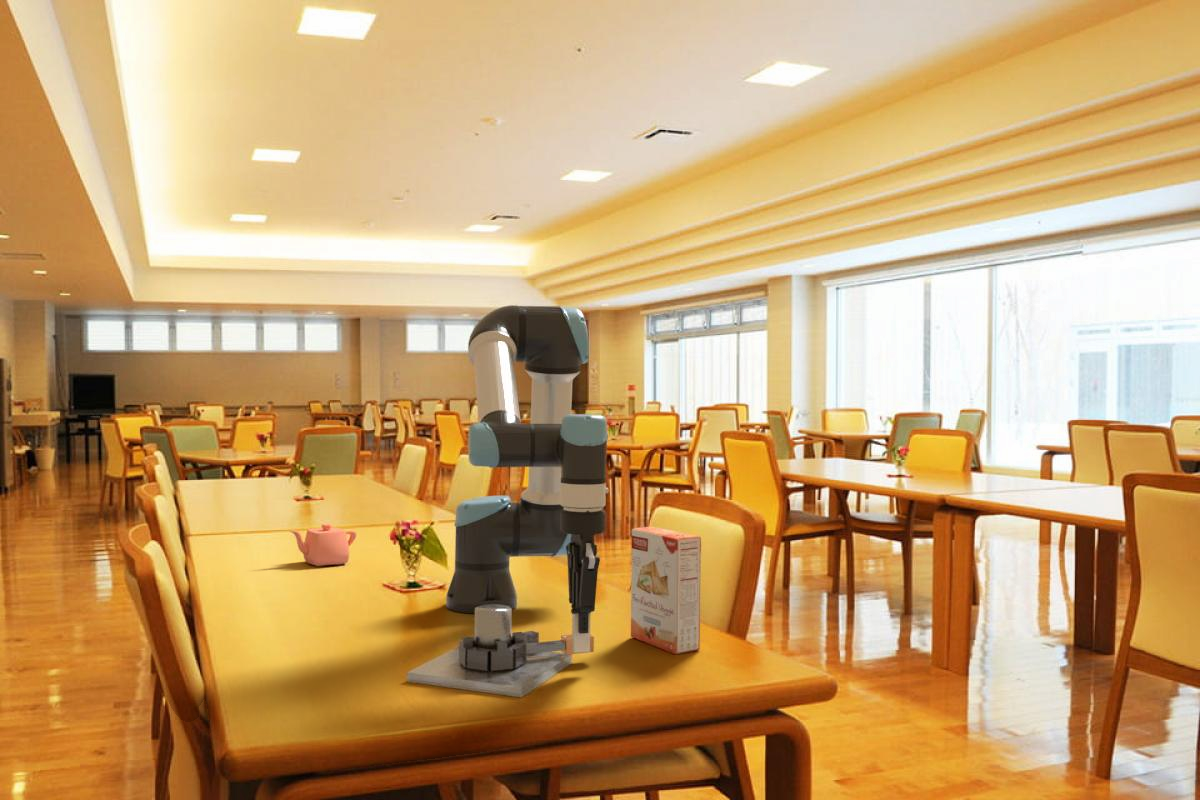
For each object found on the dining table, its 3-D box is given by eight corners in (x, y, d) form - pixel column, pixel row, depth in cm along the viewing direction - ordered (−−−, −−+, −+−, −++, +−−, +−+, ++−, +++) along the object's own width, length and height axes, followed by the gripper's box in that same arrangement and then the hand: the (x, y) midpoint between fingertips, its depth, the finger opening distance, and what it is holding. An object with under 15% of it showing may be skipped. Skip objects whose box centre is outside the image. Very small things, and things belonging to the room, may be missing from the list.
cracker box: (628, 638, 181) (630, 527, 180) (653, 634, 184) (655, 525, 184) (674, 655, 169) (676, 537, 169) (701, 651, 172) (702, 535, 172)
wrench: (470, 673, 151) (470, 646, 151) (453, 655, 160) (454, 630, 160) (602, 659, 160) (602, 633, 160) (579, 643, 169) (579, 619, 169)
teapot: (363, 564, 252) (364, 524, 252) (295, 570, 242) (295, 529, 242) (348, 557, 262) (349, 519, 262) (282, 563, 252) (282, 524, 252)
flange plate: (407, 681, 152) (407, 615, 152) (467, 650, 171) (468, 591, 170) (521, 697, 145) (522, 628, 145) (571, 662, 164) (572, 601, 163)
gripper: (616, 513, 152) (613, 660, 152) (594, 502, 165) (592, 639, 165) (570, 514, 150) (567, 663, 150) (552, 503, 163) (550, 641, 163)
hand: (580, 650), depth 158 cm, fingers closed
